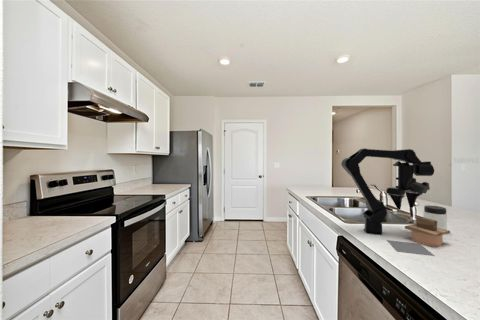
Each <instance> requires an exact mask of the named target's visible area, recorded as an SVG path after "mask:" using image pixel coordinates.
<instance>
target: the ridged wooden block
mask: <svg viewBox="0 0 480 320" xmlns="http://www.w3.org/2000/svg"><path fill="white" fill-rule="evenodd" d="M404 229H405V230H410V231H411V230H412V231H416V232H419V233H423V234H426V235H430V236H433V237H436V236H440V235H443V236H444V235H448V234H451V230H449V229H447V230H445V229H441V228H437V221H436V220H432V219H427V218H423V216H422V217H421V216H418V217H416V223H415V224H408V225H405V226H404Z"/></svg>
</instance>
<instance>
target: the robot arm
mask: <svg viewBox="0 0 480 320" xmlns="http://www.w3.org/2000/svg"><path fill="white" fill-rule="evenodd" d="M365 158H380V159H381V158H382V159H390V160H394V161H395V162H394V163H393V164H392V166H393V167H397V177H396V176H395V180H397V185H395V187H387V188H386V191H385V192H386V194H387V195H388V196H389V197H390V198H391V200H392V201H393V203H394V206H395V207H396V208H397V210H401V207H402V199H403V198H404V197H406V200H407V202H408V206H409V208H414V206H415V203H416V201H417V199H418V197H419V196H422V195H423V194H427V192H428V191H430V189H431V188H430V183H429V182H427V181H422V183H421V182H418V181H417V179H416V177H414V175H415V176H417V177H432V176H433V175H434V173H435V168H434V166H433V165H432V161H421V160H420V158H419V157H418V155H417V154H416V152H415V151H414V149H410V148H408V149H406V148H405V149H394V150H387V149H386V150H385V149H375V148H374V149H371V148H365V147H364V148H360V149H359V150H357V151H355V152H354V153H353V154H351V155H350V156H348V157H346V158H344V159H342V161H341V163H340V164H341V167H342V168H343V169H344V171H346V173H347V174H348V175H349V176H350V177H351V178H352V181H354V183H355V185H356V186H357V188H358V189H357V190H359V192H360V193H361V195H362V197H363V199H364V200H365V204H366V205H365V207H366V208H367V210H365V211H364V212H363V213H362V215H363V218H364V228H363V231H364V232H365V234H369V235H380V236H382V235H383V234H382V233H383V224H382V223H383V221H384V218H385V217H387V215H388V211H387V210H388V208H387V207H385V204H384V202H383V201H382V200H380V199H377V198H375V195H374V194H373V193H372V191H371V189H370V187H369V186H368V184H367V182H366V180H365V179H364V177H363V176H362V175H363V174H362V173H361V167H360V165H359V164H360V163H362V162H363V161H364V159H365Z"/></svg>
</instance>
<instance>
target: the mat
mask: <svg viewBox="0 0 480 320" xmlns="http://www.w3.org/2000/svg"><path fill="white" fill-rule="evenodd" d="M386 242H388V244H389V245H390V246H391V247H392V248H393V249H394V251H396V252H397V253H405V254H413V255H421V256H432V257H436V255H435V254H433V253H432V251H429V250H428V249H427V248H426V247H425V246H423V244H421V243H418V242H410V241H408V242H407V241H400V240H399V241H398V240H388V239H386Z"/></svg>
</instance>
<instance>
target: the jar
mask: <svg viewBox="0 0 480 320" xmlns="http://www.w3.org/2000/svg"><path fill="white" fill-rule="evenodd" d="M423 208H424V209H423V214H422V215H423V216H422V217H423V218H427V219H432V220H436V221H437V228H441V229H445V230H448V224H447V223H448V213H447V208H446V207H443V206H439V205H424V206H423Z"/></svg>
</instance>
